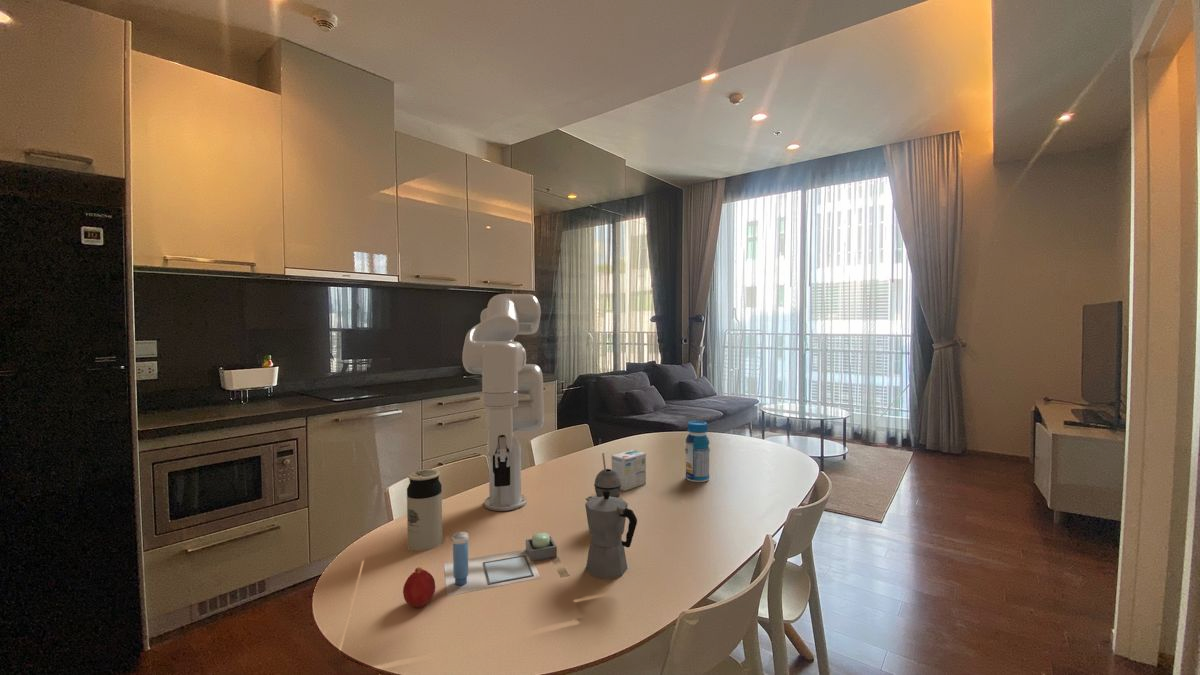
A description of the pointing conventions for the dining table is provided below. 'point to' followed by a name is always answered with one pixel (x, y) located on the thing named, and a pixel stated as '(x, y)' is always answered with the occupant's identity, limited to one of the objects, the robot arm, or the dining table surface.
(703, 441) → the beverage bottle
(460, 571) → the marker
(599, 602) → the dining table surface
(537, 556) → the button housing
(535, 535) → the button
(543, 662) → the dining table surface
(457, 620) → the dining table surface
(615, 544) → the coffeepot
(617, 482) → the beverage cup
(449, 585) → the clipboard
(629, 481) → the light bulb box
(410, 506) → the travel mug
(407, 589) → the onion
